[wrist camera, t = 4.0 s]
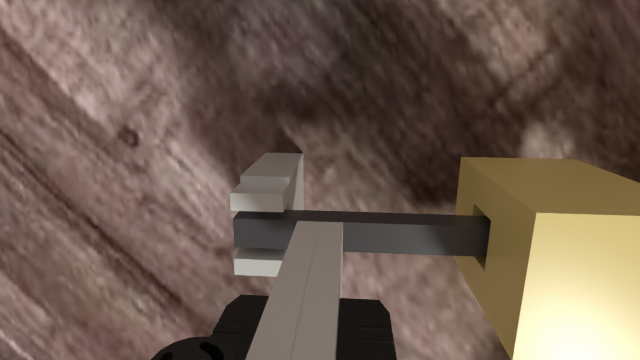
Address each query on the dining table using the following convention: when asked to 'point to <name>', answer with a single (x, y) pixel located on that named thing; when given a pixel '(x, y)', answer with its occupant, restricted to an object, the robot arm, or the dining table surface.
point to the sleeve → (555, 257)
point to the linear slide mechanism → (358, 227)
